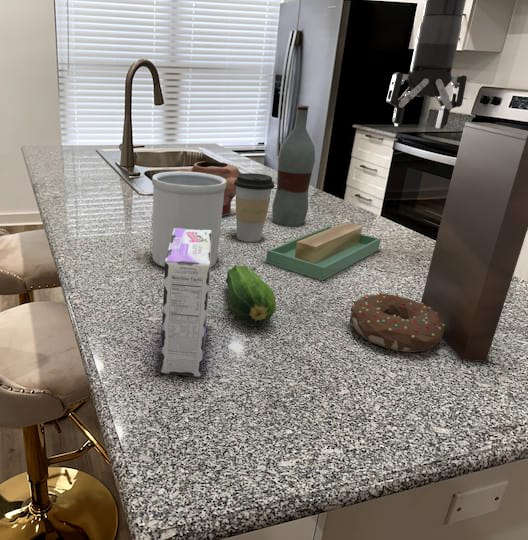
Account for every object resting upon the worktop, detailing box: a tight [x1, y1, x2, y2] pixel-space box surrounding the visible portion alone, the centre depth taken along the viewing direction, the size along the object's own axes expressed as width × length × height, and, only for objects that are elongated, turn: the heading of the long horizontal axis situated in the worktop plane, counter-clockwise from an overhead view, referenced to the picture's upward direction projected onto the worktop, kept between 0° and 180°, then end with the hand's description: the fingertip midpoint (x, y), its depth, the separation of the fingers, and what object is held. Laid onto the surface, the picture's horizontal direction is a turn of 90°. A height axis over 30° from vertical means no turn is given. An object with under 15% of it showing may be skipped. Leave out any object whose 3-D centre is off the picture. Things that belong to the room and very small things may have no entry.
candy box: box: [159, 228, 212, 378], centre depth 71 cm, size 14×6×16 cm, turn 174°
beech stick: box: [295, 222, 363, 264], centre depth 114 cm, size 4×22×4 cm, turn 136°
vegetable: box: [225, 264, 277, 327], centre depth 88 cm, size 7×7×20 cm
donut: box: [349, 292, 445, 353], centre depth 80 cm, size 14×14×5 cm
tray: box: [265, 225, 382, 282], centre depth 114 cm, size 27×13×3 cm, turn 137°
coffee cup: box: [234, 172, 276, 243], centre depth 121 cm, size 9×9×15 cm
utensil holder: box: [151, 170, 227, 268], centre depth 106 cm, size 15×15×18 cm
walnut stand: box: [420, 121, 528, 362], centre depth 76 cm, size 4×16×32 cm, turn 177°
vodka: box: [271, 104, 316, 227], centre depth 133 cm, size 9×9×30 cm
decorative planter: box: [177, 160, 241, 217], centre depth 141 cm, size 20×12×14 cm, turn 91°
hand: (418, 127), depth 107 cm, fingers open, 8 cm apart
